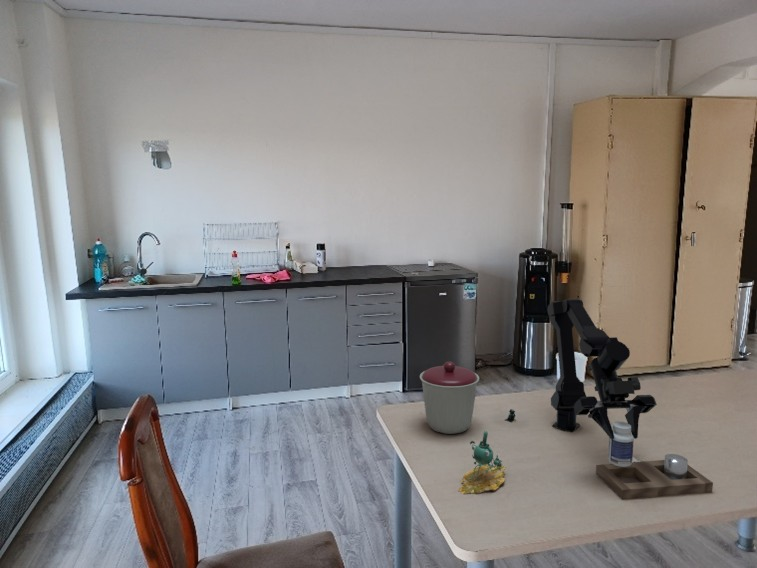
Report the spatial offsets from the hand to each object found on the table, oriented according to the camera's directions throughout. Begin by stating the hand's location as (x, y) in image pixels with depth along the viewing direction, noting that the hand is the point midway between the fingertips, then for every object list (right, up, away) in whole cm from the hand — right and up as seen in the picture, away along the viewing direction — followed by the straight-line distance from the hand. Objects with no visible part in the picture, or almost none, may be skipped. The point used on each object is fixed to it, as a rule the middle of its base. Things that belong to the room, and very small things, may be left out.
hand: (624, 438), depth 129 cm
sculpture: (-17, -7, +43) cm, 46 cm away
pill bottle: (0, -7, +3) cm, 7 cm away
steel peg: (+15, -12, +5) cm, 19 cm away
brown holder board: (+9, -12, +4) cm, 15 cm away
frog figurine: (-32, -13, +6) cm, 35 cm away
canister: (-37, -7, +38) cm, 54 cm away
